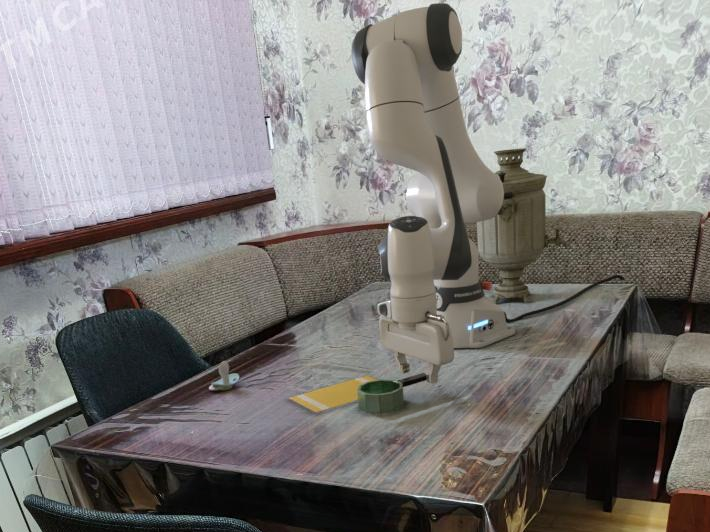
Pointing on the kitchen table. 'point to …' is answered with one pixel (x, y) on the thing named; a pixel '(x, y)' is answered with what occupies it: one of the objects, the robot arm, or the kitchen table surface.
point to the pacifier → (224, 378)
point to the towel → (332, 395)
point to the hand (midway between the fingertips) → (418, 377)
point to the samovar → (516, 226)
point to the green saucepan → (385, 394)
